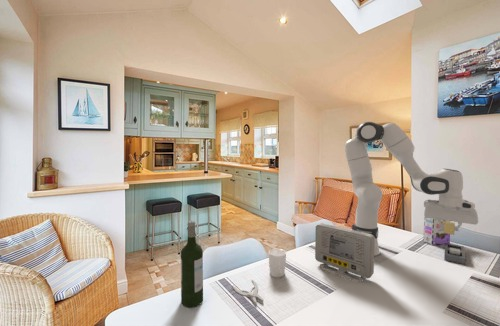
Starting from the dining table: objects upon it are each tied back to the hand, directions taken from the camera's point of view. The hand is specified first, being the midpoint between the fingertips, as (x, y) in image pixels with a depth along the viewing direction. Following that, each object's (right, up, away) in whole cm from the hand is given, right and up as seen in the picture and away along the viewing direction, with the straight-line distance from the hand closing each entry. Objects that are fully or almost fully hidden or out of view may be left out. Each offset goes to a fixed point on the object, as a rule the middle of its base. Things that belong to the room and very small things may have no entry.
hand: (449, 229), depth 116 cm
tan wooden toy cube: (0, -2, 0) cm, 2 cm away
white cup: (-86, -18, -9) cm, 88 cm away
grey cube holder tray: (+11, -17, +10) cm, 22 cm away
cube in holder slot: (+8, -17, +6) cm, 20 cm away
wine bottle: (-120, -19, -29) cm, 125 cm away
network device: (-56, -18, -7) cm, 59 cm away
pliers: (-98, -19, -24) cm, 103 cm away
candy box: (+16, -16, +28) cm, 36 cm away
